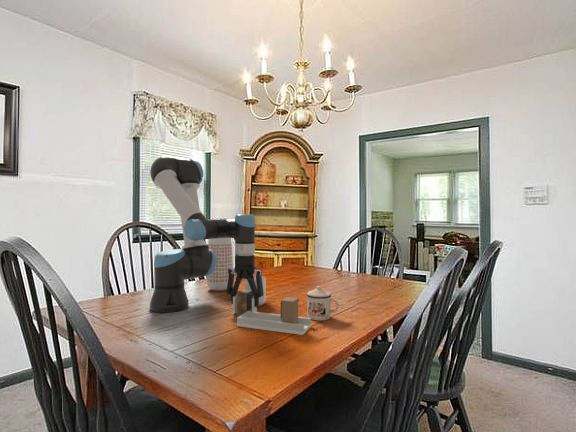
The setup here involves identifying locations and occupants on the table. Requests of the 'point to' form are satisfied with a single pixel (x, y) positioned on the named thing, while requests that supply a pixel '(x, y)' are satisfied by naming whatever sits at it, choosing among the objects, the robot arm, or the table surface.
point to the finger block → (244, 301)
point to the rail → (277, 319)
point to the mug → (247, 286)
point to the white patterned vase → (220, 263)
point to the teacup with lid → (319, 304)
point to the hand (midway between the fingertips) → (244, 313)
